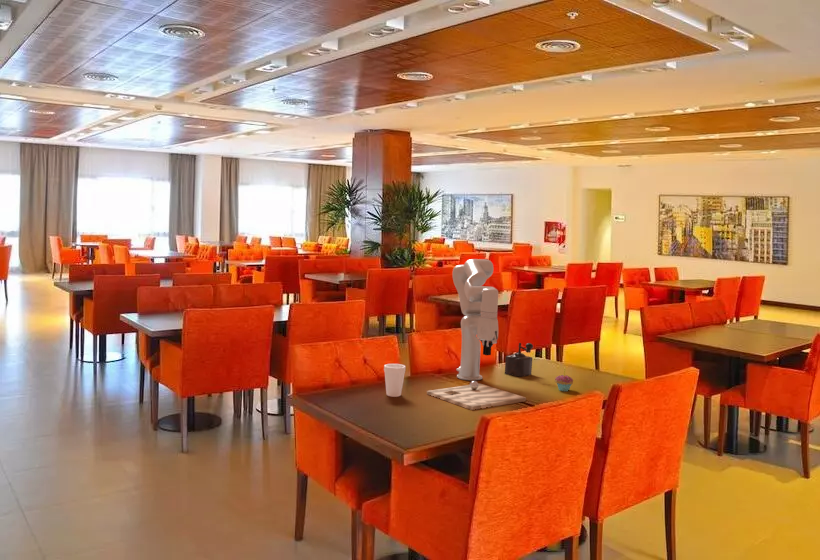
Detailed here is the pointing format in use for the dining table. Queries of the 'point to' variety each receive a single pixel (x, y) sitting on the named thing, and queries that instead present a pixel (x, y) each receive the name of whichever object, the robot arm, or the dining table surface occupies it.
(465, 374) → the robot arm
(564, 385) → the cupcake
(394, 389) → the foam cup
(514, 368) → the coffee grinder
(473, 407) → the maple board
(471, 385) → the steel ball
